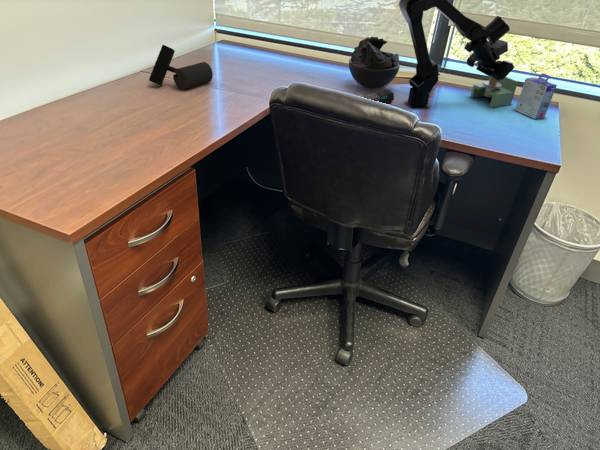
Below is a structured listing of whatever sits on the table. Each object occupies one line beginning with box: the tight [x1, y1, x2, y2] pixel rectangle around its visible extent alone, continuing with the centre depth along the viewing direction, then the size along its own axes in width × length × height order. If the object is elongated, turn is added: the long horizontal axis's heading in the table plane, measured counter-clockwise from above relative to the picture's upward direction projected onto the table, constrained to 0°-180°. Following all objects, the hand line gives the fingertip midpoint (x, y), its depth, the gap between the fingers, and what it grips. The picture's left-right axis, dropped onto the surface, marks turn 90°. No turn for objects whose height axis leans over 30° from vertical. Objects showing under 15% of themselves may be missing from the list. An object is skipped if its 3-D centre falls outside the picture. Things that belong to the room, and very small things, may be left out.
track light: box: [148, 44, 214, 91], centre depth 178 cm, size 15×14×20 cm
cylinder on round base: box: [482, 77, 502, 98], centre depth 178 cm, size 7×7×12 cm
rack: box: [470, 76, 519, 108], centre depth 181 cm, size 10×12×9 cm
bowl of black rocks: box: [348, 36, 401, 90], centre depth 184 cm, size 20×20×19 cm
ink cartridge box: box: [514, 72, 558, 120], centre depth 169 cm, size 10×6×14 cm, turn 28°
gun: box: [362, 88, 395, 105], centre depth 166 cm, size 4×20×10 cm, turn 109°
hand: (496, 78), depth 178 cm, fingers closed on cylinder on round base, 3 cm apart
